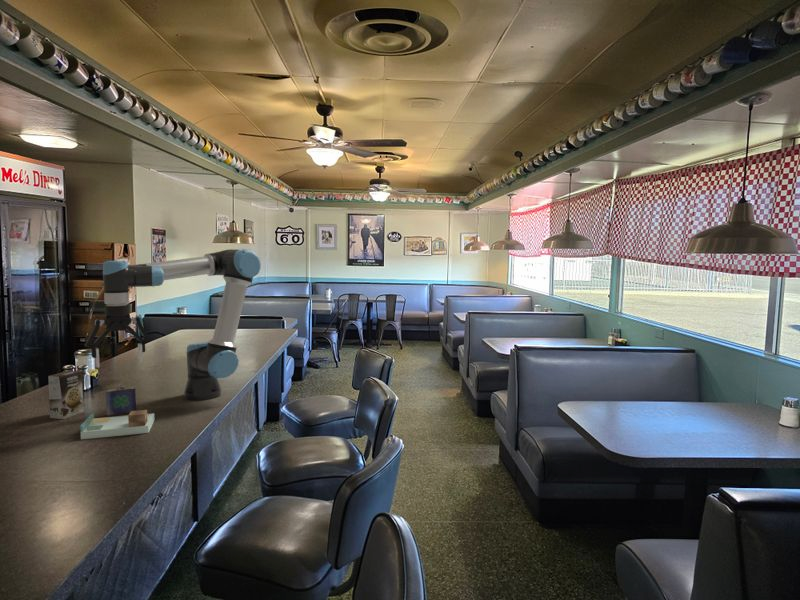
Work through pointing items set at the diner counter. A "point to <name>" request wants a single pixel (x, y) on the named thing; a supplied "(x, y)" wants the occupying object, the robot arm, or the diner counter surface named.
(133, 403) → the flask
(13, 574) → the diner counter surface
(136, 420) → the walnut block
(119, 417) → the board
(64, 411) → the coffee box
